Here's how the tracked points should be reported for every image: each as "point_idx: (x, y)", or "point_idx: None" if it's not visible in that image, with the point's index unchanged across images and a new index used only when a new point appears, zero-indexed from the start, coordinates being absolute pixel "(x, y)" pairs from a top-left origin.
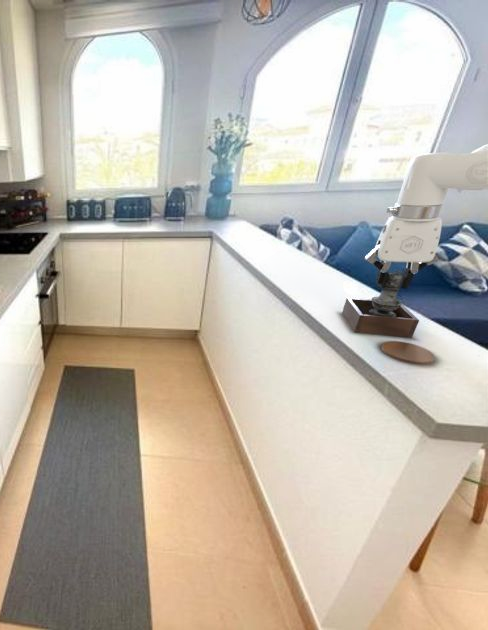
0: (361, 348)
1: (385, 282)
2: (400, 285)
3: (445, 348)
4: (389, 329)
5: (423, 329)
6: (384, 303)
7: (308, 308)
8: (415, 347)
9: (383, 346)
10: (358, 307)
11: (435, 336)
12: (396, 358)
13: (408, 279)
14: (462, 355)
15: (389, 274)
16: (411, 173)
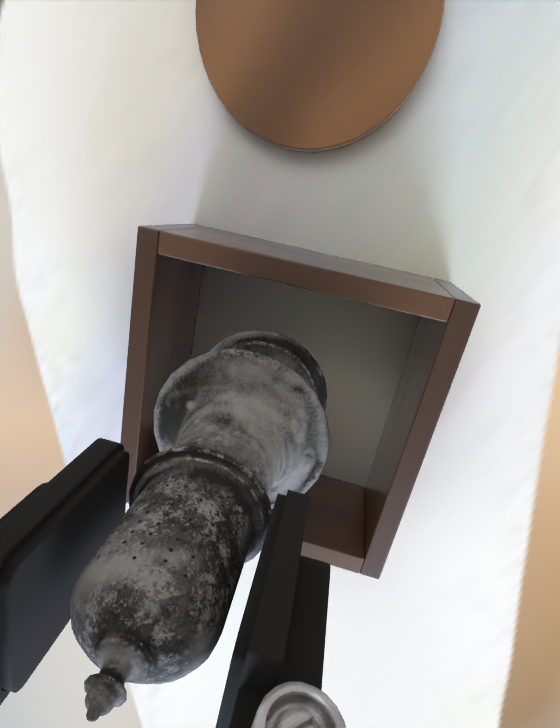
0: (551, 54)
1: (278, 532)
2: (120, 507)
3: (96, 116)
4: (290, 249)
5: (94, 327)
6: (283, 385)
7: (516, 575)
8: (245, 71)
9: (420, 62)
10: (316, 507)
11: (79, 253)
12: None
13: (40, 507)
14: (58, 38)
15: (196, 653)
16: None
